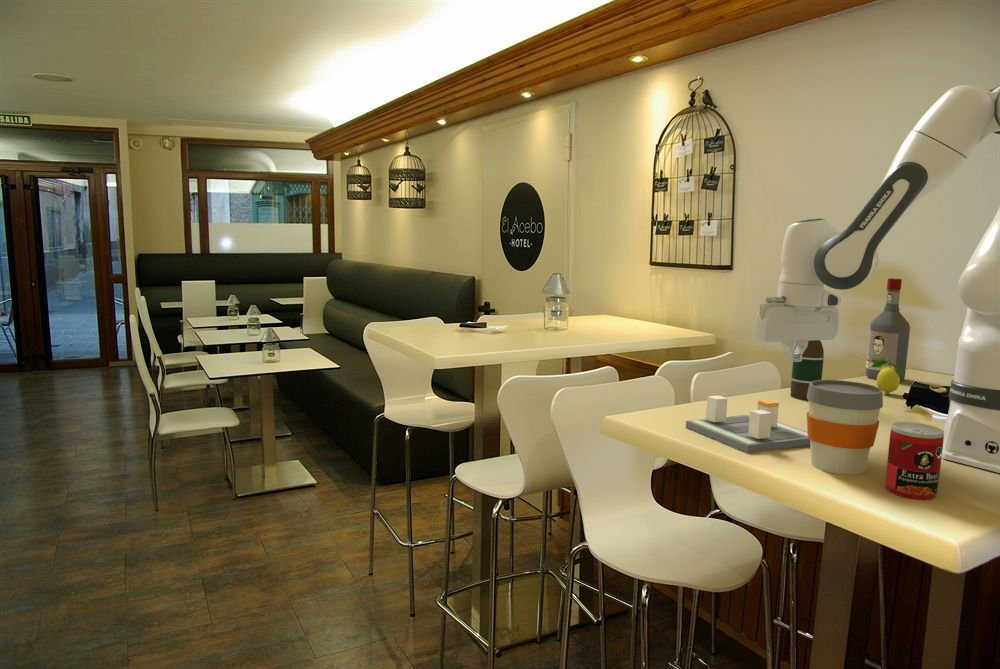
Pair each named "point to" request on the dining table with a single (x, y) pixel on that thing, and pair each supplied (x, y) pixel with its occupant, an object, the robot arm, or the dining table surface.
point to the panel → (737, 435)
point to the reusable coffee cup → (842, 424)
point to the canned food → (914, 460)
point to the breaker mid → (770, 409)
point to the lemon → (888, 376)
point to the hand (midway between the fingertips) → (793, 361)
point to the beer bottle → (807, 369)
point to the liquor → (888, 334)
